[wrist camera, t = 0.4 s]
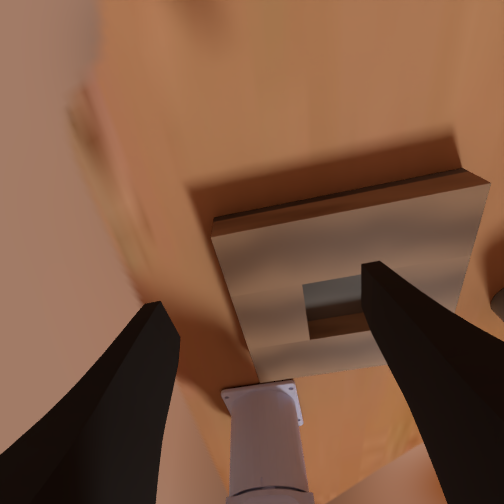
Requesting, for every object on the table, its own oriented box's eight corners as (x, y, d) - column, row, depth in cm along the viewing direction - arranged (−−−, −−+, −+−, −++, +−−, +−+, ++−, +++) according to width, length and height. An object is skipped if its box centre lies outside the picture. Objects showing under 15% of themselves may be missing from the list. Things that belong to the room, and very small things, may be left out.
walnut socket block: (426, 333, 27) (442, 356, 25) (258, 359, 28) (260, 383, 26) (462, 167, 18) (491, 183, 16) (213, 217, 19) (210, 237, 17)
